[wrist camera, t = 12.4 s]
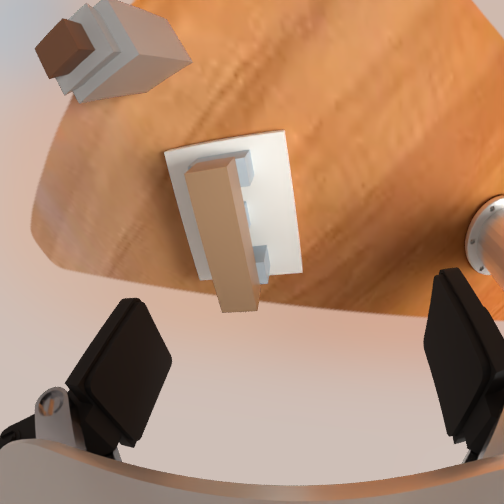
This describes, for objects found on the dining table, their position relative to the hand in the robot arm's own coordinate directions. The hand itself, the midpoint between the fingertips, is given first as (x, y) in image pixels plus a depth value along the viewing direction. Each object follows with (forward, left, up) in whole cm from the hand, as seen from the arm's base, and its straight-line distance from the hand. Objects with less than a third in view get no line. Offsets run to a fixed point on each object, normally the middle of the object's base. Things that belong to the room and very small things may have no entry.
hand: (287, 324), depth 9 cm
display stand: (+8, +7, -29) cm, 30 cm away
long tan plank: (+8, +7, -23) cm, 25 cm away
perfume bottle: (+14, -14, -29) cm, 35 cm away
